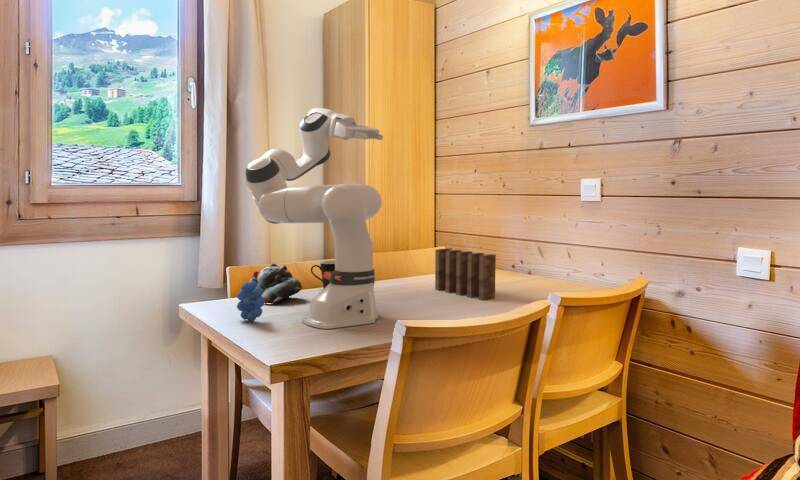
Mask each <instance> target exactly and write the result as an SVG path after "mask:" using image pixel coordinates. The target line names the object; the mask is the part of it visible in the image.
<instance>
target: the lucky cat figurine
mask: <svg viewBox="0 0 800 480" xmlns="http://www.w3.org/2000/svg"><path fill="white" fill-rule="evenodd" d="M250 281H255V282H256V283H257V285H258V286H259V287H261V288H262V289H263V293H262V295H261V296H262V297H263V298H264V300H265V303H274V304H275V303H277V302H279V301H282V300H284V299H286V297H288V298H290V297H291V296H294V295H296V294H298V293H300V291H302V289H303V286H302V283H301V282H300V280H298V279H297V278H294V277H293V275H292V273H291V272H290V270H289V269H288V267H287V266H286V265H285V264H283V265H281V266H280V267H279V266H278V264H276V263H272V264H271V265H270V266H266V267H264V268H263V269H261V270H260V271H258V270H257V271H253V274H252V277H251V278H250V279H249V281H248V283H249V282H250ZM289 296H290V297H289Z"/></svg>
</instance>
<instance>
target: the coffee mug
mask: <svg viewBox="0 0 800 480" xmlns="http://www.w3.org/2000/svg"><path fill="white" fill-rule="evenodd" d="M319 263H320V265H319V264H315V265H312V266H311V267H310V273H311V274H312V275H313V276H314V277H315V278H316V279H317V280H320V282H322V285H323V286H322V287H323V289H324V288H325V287H326V286H327V285H328V284H330V279H331V278H330V279H325V277H323V275H324V272H330V273H331V274H332V273H333V271H334V269H335V260H322V261H319ZM315 267H316V268H319V271H320V272H321V278H320V277H319V276H318V275H316V274H315V273H314V272H313V269H314V268H315Z"/></svg>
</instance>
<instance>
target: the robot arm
mask: <svg viewBox="0 0 800 480" xmlns="http://www.w3.org/2000/svg"><path fill="white" fill-rule="evenodd" d="M298 130H299V135H300V136H299V137H300V140H301V145H302V157H301V158H299V159H297V160H296V159H295V157H294V155H292V154H291V153H290V152H288V151H287V150H285V149H282V148H272V149H269V150H267V151H266V152H265V153H264V154H262V156H260V157H259V158H255V159H254V160H252V161H250V162H249V163H248V164H247V166H246V168H245V170H244V171H245V172H244V174H245V183H246V186H247V187H248V189H249V191H251V194H252V198H253V200H254V202H255V204H256V206H257V208H258V211H259V214H260V215H261V217H262V218H263V219H264V220H265V221H266V222H268V223H271V224H275V225H278V224H320V223H329V225H330V228H331V234H332V238H333V243H334V261H335V269H334V271H333V273H332V274H331V273H330V272H324V275H323V277H325V279H330V278H331V279H330V284H328V285H327V286H326V287H325V288H323V289H321V291H320V292H318V293H317V294H316V295H315V296H314V297H313V298H312V300H311V303H310V306H309V307H310V308H309V313H308V315H307V314H306V315H304V316H303V315H302V317H301V322H302V323H303V324H305V325H307V326H309V327H313V328H317V329H325V330H327V329H337V328H338V329H339V328H342V327H343V328H346V327H353V326H359V325H360V326H361V325H368V324H370V325H371V324H374V323H376V320H377V319H379V317H380V315H379V311H378V308H377V303H376V295H375V290H374V289H375V288H374V287H375V283H376V282H375V280H376V279H375V269H374V243H373V240H372V239H371V236H370V234H369V230H368V226H367V221H369V220H370V219H373V217H375V216H376V215H377V214H378V213H379V212H380V210H381V208H382V205H383V204H382V195H381V194H380V192H379V191H378V189H376V188H374V187H373V186H371V185H369V184H365V183H339V184H320V185H319V184H318V185H317V184H316V185H298V186H297V185H295V186H288V184H287V182H291V181H295V180H296V181H297V180H298V179H299V178H301V177H303V176H304V175H305V174H307V173H309V172H310V171H312V170H313V169H314V168H315V167H318V166H320V165H322V164H324V163H326V162H327V161H328V160H329V158H330V157H331V150H330V146H329V142H328V135H329V136H330V137H332V138H333V137H334V138H337V139H341V140H343V141H349V140H350V139H362V140H366V141H367V140H378V141H383V139H384V135H383V134H380V130H379V129H378V128H374V127H372V126H368V125H363V124H358V123H357V122H356V120H355V118H354V117H352V116H349V115H346V114H343V113H337V112H336V111H334V110H331V109H328V108H325V107H324V108H323V107H314V108H311V109H310V110H309V111H308V113H307V115H306V116H304V118H302V120H301V121H300V122H299V124H298Z"/></svg>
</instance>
